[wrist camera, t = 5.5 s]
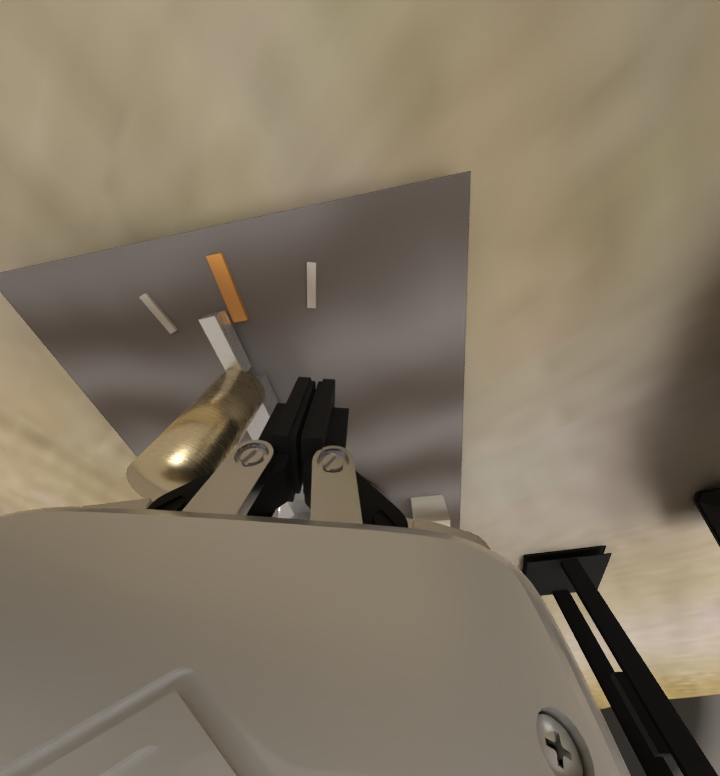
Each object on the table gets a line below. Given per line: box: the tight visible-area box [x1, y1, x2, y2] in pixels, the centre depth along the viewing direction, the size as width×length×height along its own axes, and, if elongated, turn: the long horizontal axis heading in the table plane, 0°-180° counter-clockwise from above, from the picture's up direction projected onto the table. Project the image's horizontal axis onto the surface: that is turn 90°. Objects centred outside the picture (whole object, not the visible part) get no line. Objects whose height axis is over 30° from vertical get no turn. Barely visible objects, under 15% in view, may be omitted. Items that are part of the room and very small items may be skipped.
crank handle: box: [126, 310, 391, 520], centre depth 15 cm, size 23×12×7 cm, turn 12°
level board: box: [0, 171, 471, 529], centre depth 19 cm, size 32×22×4 cm
